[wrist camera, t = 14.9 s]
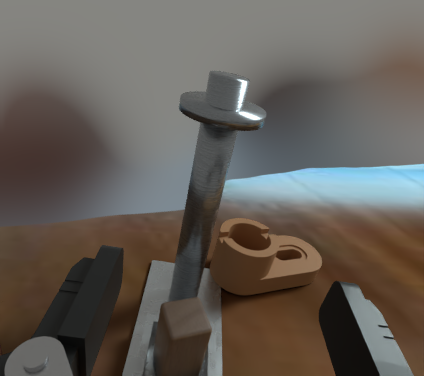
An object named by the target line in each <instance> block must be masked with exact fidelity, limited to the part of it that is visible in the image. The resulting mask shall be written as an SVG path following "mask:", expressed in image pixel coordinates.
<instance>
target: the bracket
mask: <svg viewBox="0 0 424 376" xmlns="http://www.w3.org/2000/svg"><path fill="white" fill-rule="evenodd" d="M268 231H269V228H268V227H266V226H265V225H263V224H261V223H259V222H256V221H253V220H250V219H244V218H234V219H230V220H227V221H226V222H224V223H223V224H222V226H221V229H220V232H219V236H218V239H217V243H216V246H215V250H214V253H213V257H212V260H211V264H210V273H211V276H212V278H213V279H214V281H215V282H216V283H217V284H218V285H219V286H220V287H221V288H223V289H225V290H226V291H228V292H231V293H233V294H237V295H253V294H258V293H264V292H270V291H275V290H281V289H286V288H292V287H297V286H303V285H308V284H310V283H312V282H313V281H314V279H315V277H316V275H317V273H318V271H319V269H320V267H321V265H322V259H321V256H320V255H319V253H318V252H317V251H316V250H315V249H314V248H313V247H312V246H311V245H310V244H308V243H307V242H305V241H303V240H301V239H298V238H295V237H292V236H276V235H275V234H274V235H269V234H268Z"/></svg>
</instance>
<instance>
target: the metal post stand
mask: <svg viewBox="0 0 424 376" xmlns="http://www.w3.org/2000/svg"><path fill="white" fill-rule="evenodd" d="M249 82H250V80H249V79H247V78H245V77H243V76H239V75H236V74H232V73H227V72H221V71H210V73H209V79H208V85H207V90H206V92H196V91H195V92H186V93H183V94H182V95H181V98H180V104H179V110H180V111H181V112H182V113H183V114H184V115H186V116H188V117H189V118H191V119H193V120H196V121H198V122H201V123H200V129H199V134H198V139H197V145H196V151H195V156H194V161H193V167H192V173H191V178H190V183H189V189H188V194H187V200H186V206H185V211H184V216H183V222H182V227H181V233H180V238H179V244H178V249H177V255H176V260H175V263H169V262H162V261H156V260H152V264H151V268H150V272H149V275H148V279H147V283H146V287H145V291H144V294H143V298H142V302H141V306H140V310H139V314H138V317H137V321H136V325H135V329H134V333H133V336H132V340H131V344H130V348H129V352H128V355H127V359H126V363H125V367H124V371H123V374H122V376H157V373H156V368H155V363H154V359H153V349H154V343H155V337H156V331H157V325H158V319H159V313H160V308H161V304H162V303H164V302H170V301H177V300H183V299H189V298H195V297H198V298H199V299H200V301H201V303H202V306H203V308H204V310H205V313H206V315H207V318H208V320H209V323H210V325H211V328H212V333H211V336H210V340H209V343H208V347H207V350H206V353H205V357H204V360H203V363H202V367H201V370H200V373H199V376H222V325H221V287H220V286H219V285H218V284H217V283H216V282H215V281H214V279H213V278H212V276H211V273H210V269H207V268H204V267H205V263H206V259H207V255H208V250H209V246H210V242H211V238H212V234H213V230H214V226H215V222H216V218H217V213H218V209H219V205H220V201H221V197H222V193H223V189H224V185H225V181H226V176H227V172H228V168H229V164H230V160H231V156H232V152H233V148H234V143H235V139H236V135H237V131H238V130H241V131H251V130H258V129H260V128H262V127H263V125H264V121H265V118H266V112H265V111H264V110H263V109H262V108H261V107H259V106H257V105H255V104H253V103H250V102H248V101H245V98H246V94H247V90H248V86H249Z"/></svg>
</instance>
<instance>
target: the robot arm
mask: <svg viewBox="0 0 424 376" xmlns="http://www.w3.org/2000/svg"><path fill="white" fill-rule="evenodd" d="M123 252H124V251H123V248H118V247H112V246H105V245H102V246H101V248H100V250H99V252H98V254H97V256H96V258H95V259H91V258H83V259H82V260H80V261H79V262H78V263H77V264H75V265H74V266H73V267H72V268H71V270H70V272H69V274H68V275H67V277H66V279H65V282H63V284H62V286H61V288H60V289H59V292H58V293H57V295H56V296H55V298H54V300H53V302H52V304H51V305H50V307H49V309H48V311H47V312H46V314H45V316H44V318H43V319H42V321H41V323H40V325H39V327H38V328H37V330H36V332H35V333H34V335H33V336H32V337H31V338H30V339H29V340H28V341H26V342H24V343H22V344H21V345H20V346H18V347H17V348H16V349H15V350H14V351H12V352H10V353H7V354H4V355H0V376H90V375H91V372H92V369H93V366H94V363H95V361H96V358H97V355H98V352H99V349H100V346H101V344H102V341H103V338H104V335H105V332H106V329H107V326H108V324H109V321H110V318H111V315H112V312H113V309H114V307H115V304H116V301H117V298H118V295H119V292H120V288H121V283H122V273H123ZM319 323H320V326H321V329H322V333H323V336H324V339H325V342H326V346H327V349H328V352H329V355H330V358H331V362H332V365H333V368H334V371H335V374H336V376H414V375H413V374H412V372H411V370H410V368H409V366H408V364H407V362H406V360H405V358H404V356H403V354H402V352H401V350H400V349H399V347H398V345H397V343H396V341H395V340H394V339H393V338H394V337H393V335H392V333H391V331H390V329H388V325H387V324H386V322H385V320H384V318H383V316H382V314H381V312H380V311H379V310H378V309H377V308H376V307H375V306H374V305H373V304H372V302H371V301H370V300H365V298H364V296H363V294H362V292H361V290H360V288H359V286H358V285H357V284H353V283H346V282H339V281H335V282H334V283H333V284H332V286H331V288H330V290H329V292H328V294H327V295H326V297H325V299H324V301H323V303H322V305H321V307H320V310H319Z"/></svg>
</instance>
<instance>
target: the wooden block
mask: <svg viewBox="0 0 424 376" xmlns="http://www.w3.org/2000/svg"><path fill="white" fill-rule="evenodd" d="M211 333H212V328H211V325H210V323H209V320H208V318H207V315H206V313H205V310H204V308H203V306H202V303H201V301H200V299H199V298H198V297H195V298H189V299H183V300H177V301H170V302H164V303H162V304H161V308H160V313H159V319H158V325H157V331H156V337H155V343H154V349H153V359H154V363H155V368H156V373H157V376H199V373H200V370H201V367H202V363H203V360H204V357H205V353H206V350H207V347H208V343H209V340H210V336H211Z"/></svg>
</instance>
